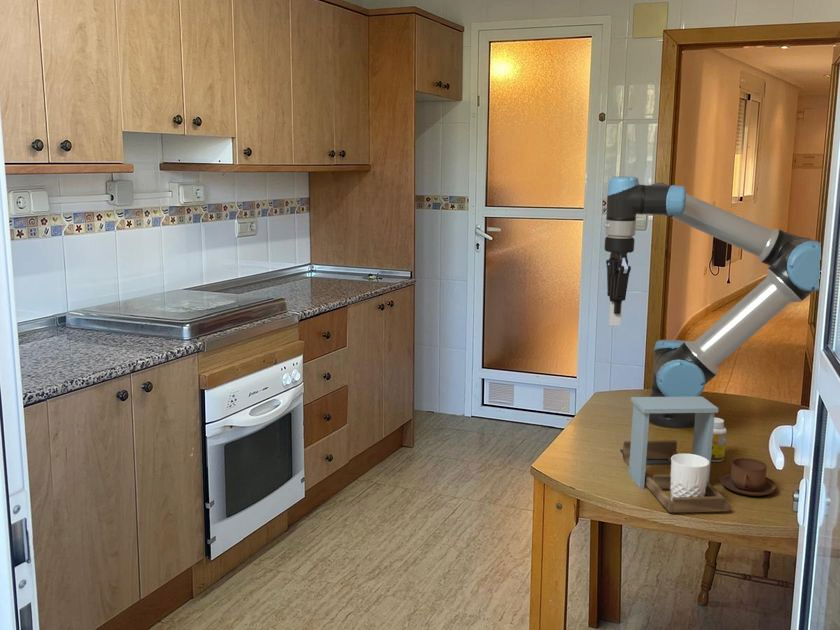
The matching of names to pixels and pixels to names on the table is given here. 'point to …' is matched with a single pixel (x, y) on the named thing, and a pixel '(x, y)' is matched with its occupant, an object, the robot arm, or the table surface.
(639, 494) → the table surface
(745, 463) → the cup and saucer
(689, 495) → the white cup
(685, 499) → the wooden serving tray
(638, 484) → the tunnel
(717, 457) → the supplement bottle
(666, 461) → the pit mat
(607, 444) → the table surface
